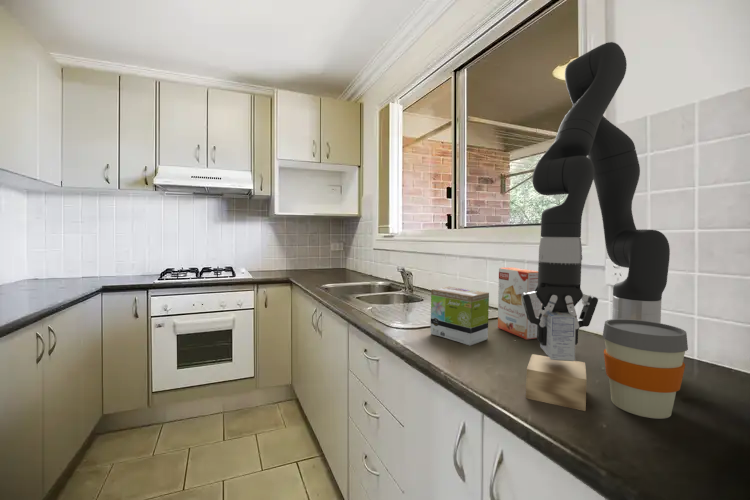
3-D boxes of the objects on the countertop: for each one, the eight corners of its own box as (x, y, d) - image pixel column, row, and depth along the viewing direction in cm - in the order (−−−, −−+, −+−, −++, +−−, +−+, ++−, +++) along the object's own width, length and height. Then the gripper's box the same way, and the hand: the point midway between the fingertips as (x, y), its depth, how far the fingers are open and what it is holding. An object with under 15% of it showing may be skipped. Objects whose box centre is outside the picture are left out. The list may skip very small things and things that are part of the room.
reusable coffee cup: (592, 405, 66) (595, 326, 65) (609, 385, 75) (611, 315, 74) (680, 432, 57) (685, 341, 56) (687, 406, 66) (691, 327, 65)
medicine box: (575, 362, 66) (577, 316, 66) (549, 360, 67) (551, 315, 67) (562, 349, 74) (563, 308, 74) (539, 347, 75) (540, 306, 74)
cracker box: (496, 328, 120) (497, 267, 119) (511, 327, 122) (512, 266, 121) (525, 340, 107) (527, 271, 106) (541, 338, 109) (543, 271, 108)
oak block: (584, 391, 73) (585, 362, 72) (585, 412, 64) (586, 379, 64) (531, 381, 78) (532, 354, 77) (525, 399, 69) (526, 369, 69)
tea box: (429, 335, 112) (429, 288, 111) (448, 329, 119) (449, 285, 118) (470, 346, 101) (471, 295, 100) (489, 339, 107) (490, 291, 107)
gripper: (592, 259, 72) (588, 342, 73) (517, 258, 75) (515, 337, 76) (608, 262, 65) (604, 354, 65) (524, 260, 68) (522, 348, 68)
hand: (556, 345), depth 70 cm, fingers closed on medicine box, 4 cm apart
